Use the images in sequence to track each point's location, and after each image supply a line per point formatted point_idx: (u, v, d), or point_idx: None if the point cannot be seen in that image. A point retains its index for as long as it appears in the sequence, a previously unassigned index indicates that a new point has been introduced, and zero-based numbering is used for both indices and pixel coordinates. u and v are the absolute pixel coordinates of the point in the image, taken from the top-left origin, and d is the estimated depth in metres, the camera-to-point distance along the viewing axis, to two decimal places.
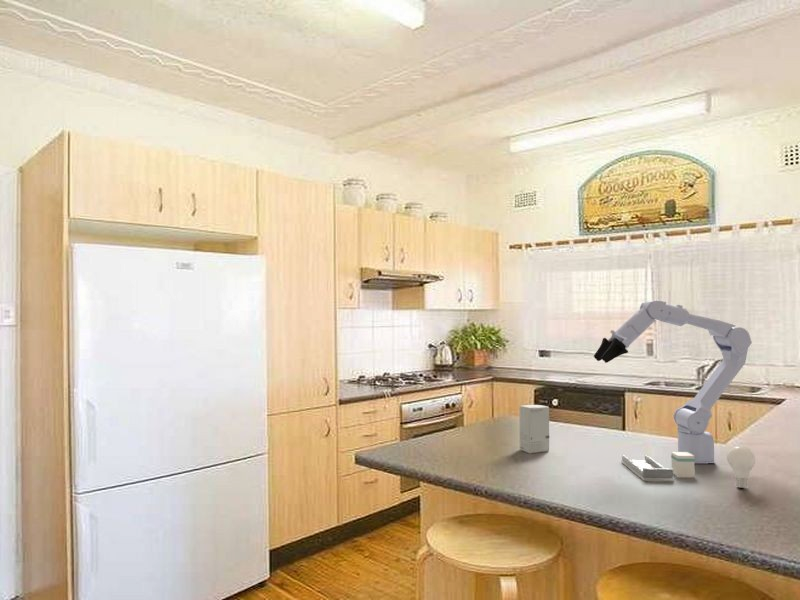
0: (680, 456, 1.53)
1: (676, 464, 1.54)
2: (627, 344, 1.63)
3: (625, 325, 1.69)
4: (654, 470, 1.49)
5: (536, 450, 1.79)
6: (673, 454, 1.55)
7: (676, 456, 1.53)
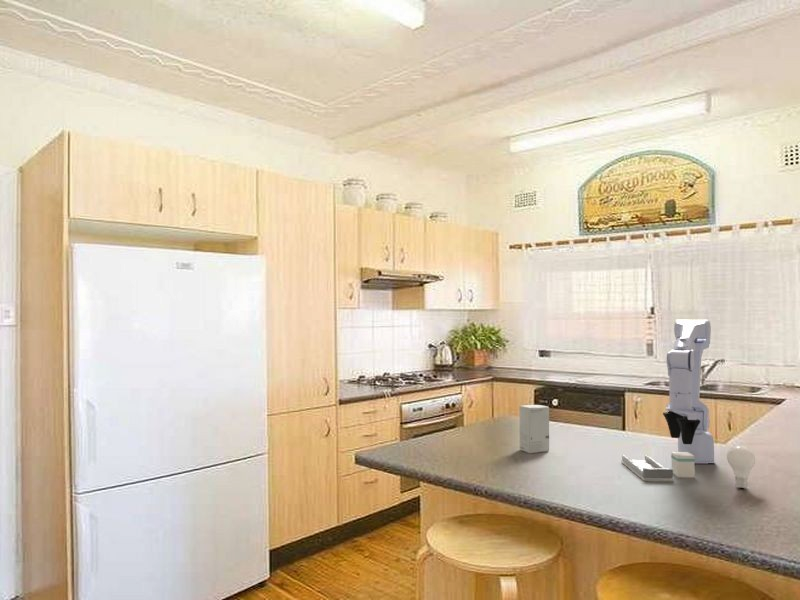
0: (680, 456, 1.53)
1: (676, 464, 1.54)
2: (694, 417, 1.47)
3: (673, 395, 1.54)
4: (654, 470, 1.49)
5: (536, 450, 1.79)
6: (673, 454, 1.55)
7: (676, 456, 1.53)
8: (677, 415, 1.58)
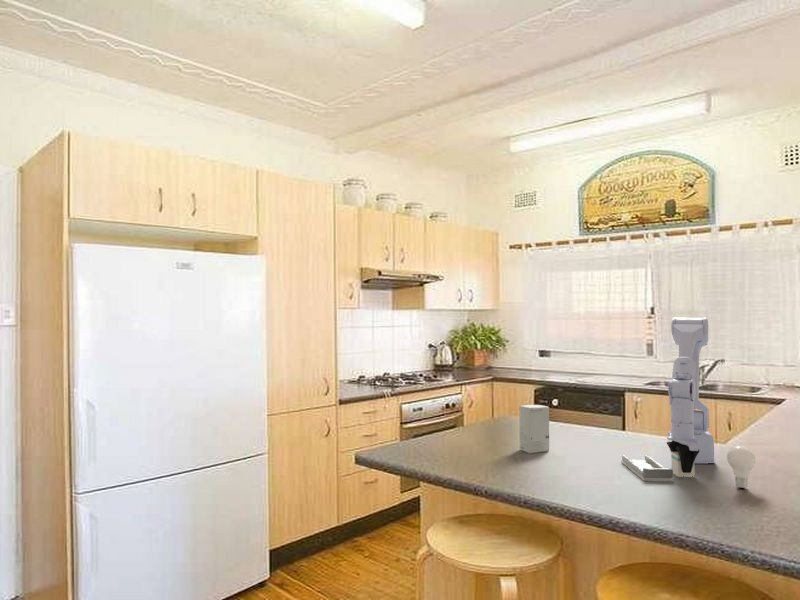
0: None
1: (676, 464, 1.54)
2: (696, 448, 1.47)
3: (674, 425, 1.54)
4: (654, 470, 1.49)
5: (536, 450, 1.79)
6: (673, 454, 1.55)
7: (676, 456, 1.53)
8: (681, 445, 1.57)
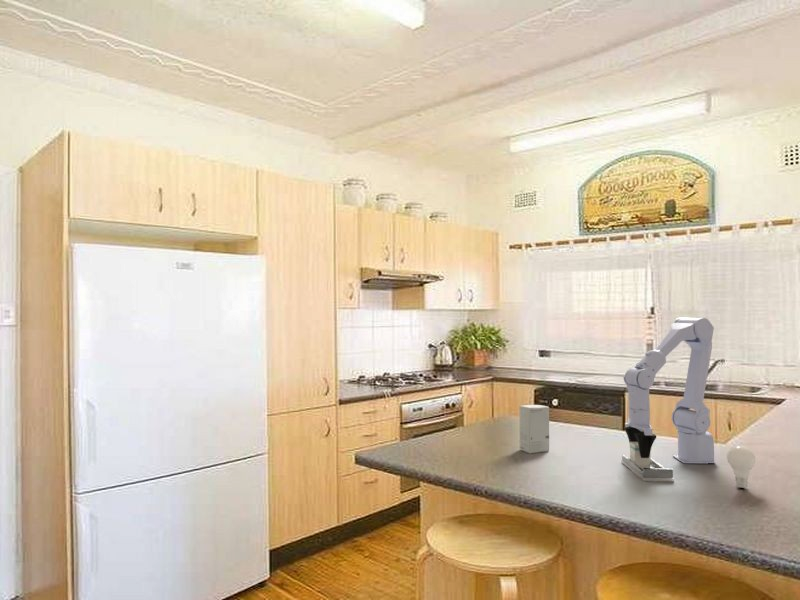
0: (637, 445, 1.61)
1: (633, 453, 1.62)
2: (650, 433, 1.56)
3: (631, 411, 1.62)
4: (654, 470, 1.49)
5: (536, 450, 1.79)
6: (631, 444, 1.64)
7: (633, 445, 1.62)
8: (637, 429, 1.67)
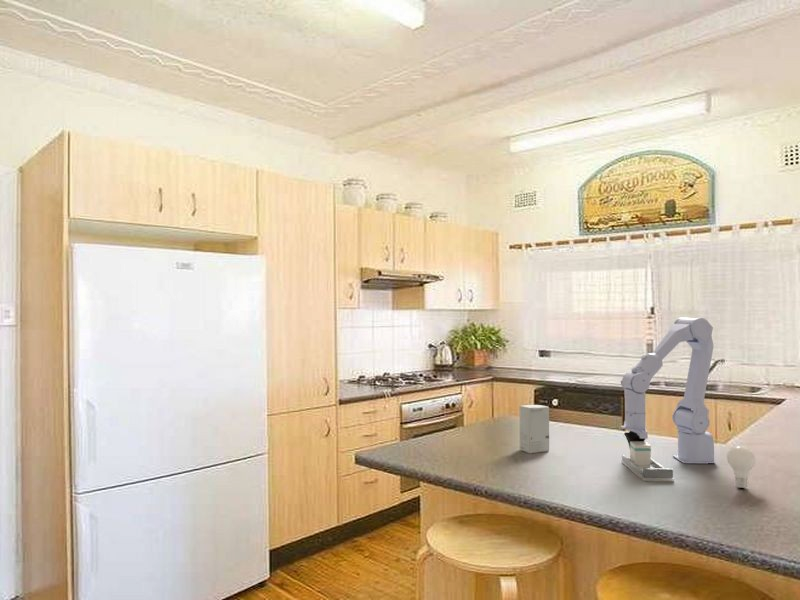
0: (637, 446, 1.61)
1: (633, 453, 1.62)
2: (645, 436, 1.59)
3: (627, 415, 1.65)
4: (654, 470, 1.49)
5: (536, 450, 1.79)
6: (631, 443, 1.64)
7: (634, 446, 1.62)
8: None
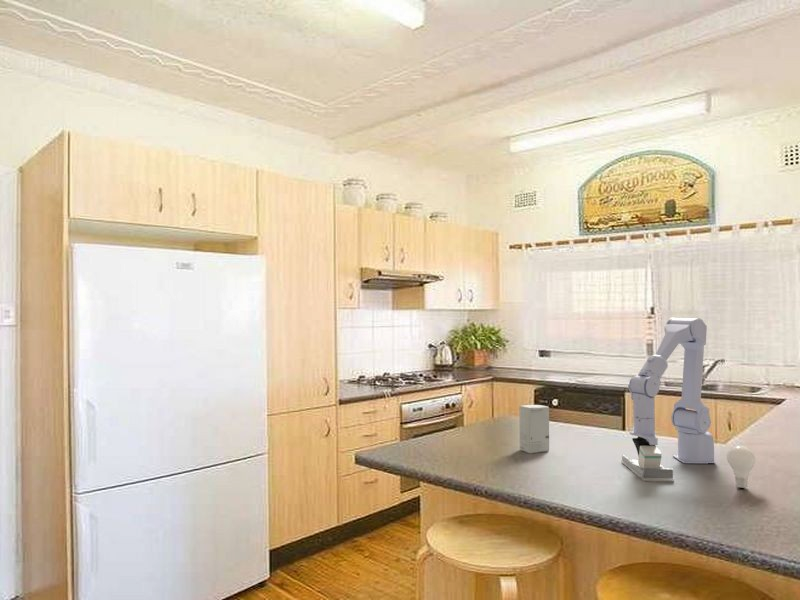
0: (647, 453, 1.53)
1: (643, 460, 1.55)
2: (655, 443, 1.52)
3: (636, 420, 1.58)
4: (654, 470, 1.49)
5: (536, 450, 1.79)
6: (641, 449, 1.56)
7: (644, 453, 1.54)
8: None
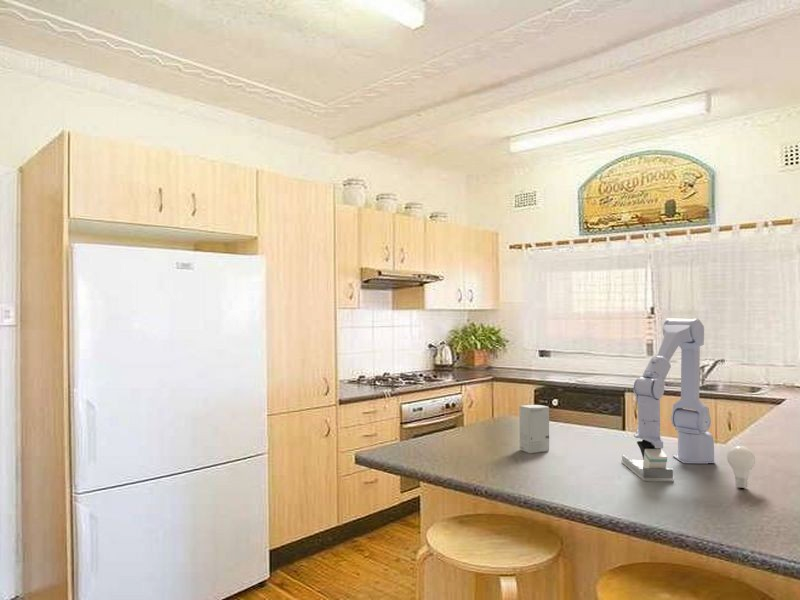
0: (653, 457, 1.50)
1: (647, 463, 1.51)
2: (661, 446, 1.48)
3: (641, 423, 1.55)
4: (654, 470, 1.49)
5: (536, 450, 1.79)
6: (646, 452, 1.52)
7: (649, 456, 1.50)
8: None
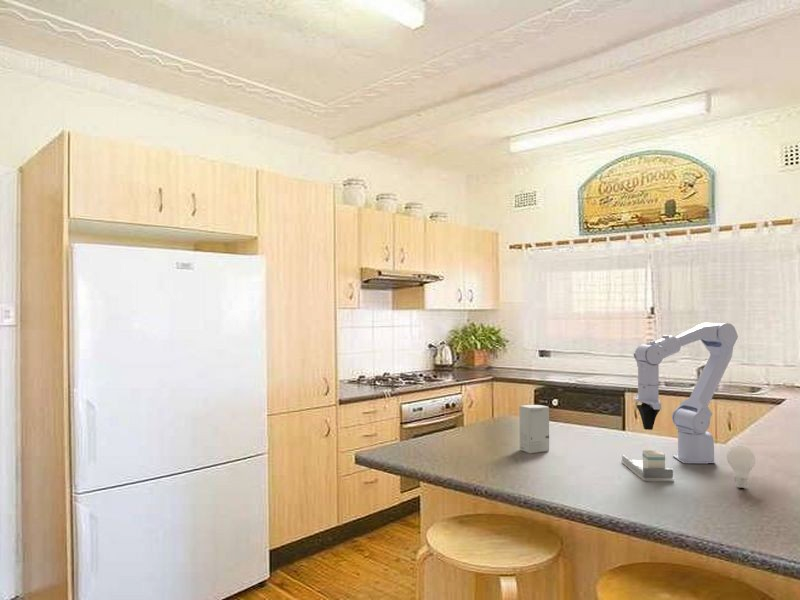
0: (650, 455, 1.51)
1: (646, 463, 1.52)
2: (659, 407, 1.59)
3: (641, 387, 1.65)
4: (654, 470, 1.49)
5: (536, 450, 1.79)
6: (644, 453, 1.54)
7: (647, 455, 1.52)
8: None
